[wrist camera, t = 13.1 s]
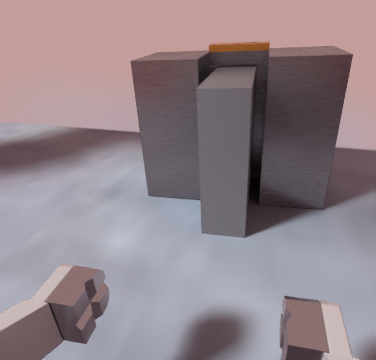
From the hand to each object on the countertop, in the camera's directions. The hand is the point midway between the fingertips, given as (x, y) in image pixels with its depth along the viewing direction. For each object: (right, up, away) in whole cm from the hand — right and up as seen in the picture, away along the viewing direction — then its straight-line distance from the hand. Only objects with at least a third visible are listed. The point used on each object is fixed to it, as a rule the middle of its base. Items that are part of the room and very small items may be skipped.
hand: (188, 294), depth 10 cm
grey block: (+3, +2, +14) cm, 15 cm away
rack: (+4, +3, +17) cm, 18 cm away
